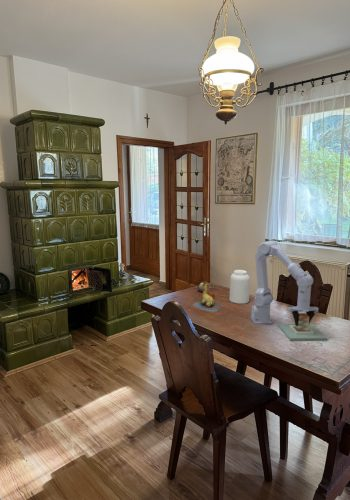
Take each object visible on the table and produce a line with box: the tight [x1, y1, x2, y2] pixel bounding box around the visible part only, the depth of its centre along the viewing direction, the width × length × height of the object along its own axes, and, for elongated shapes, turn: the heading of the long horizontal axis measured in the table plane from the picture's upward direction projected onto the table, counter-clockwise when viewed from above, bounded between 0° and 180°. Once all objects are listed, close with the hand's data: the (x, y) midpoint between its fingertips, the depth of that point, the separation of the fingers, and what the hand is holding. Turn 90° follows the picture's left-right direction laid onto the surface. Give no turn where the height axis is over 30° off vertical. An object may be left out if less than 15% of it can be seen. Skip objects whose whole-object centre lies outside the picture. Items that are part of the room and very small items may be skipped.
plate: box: [277, 323, 329, 342], centre depth 172 cm, size 18×18×2 cm
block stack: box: [295, 312, 309, 331], centre depth 172 cm, size 5×5×8 cm
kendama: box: [197, 283, 216, 299], centre depth 235 cm, size 6×6×20 cm
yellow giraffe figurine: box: [192, 280, 224, 312], centre depth 210 cm, size 16×18×16 cm
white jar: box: [228, 269, 251, 304], centre depth 220 cm, size 12×12×20 cm
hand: (301, 325), depth 171 cm, fingers closed on block stack, 5 cm apart
